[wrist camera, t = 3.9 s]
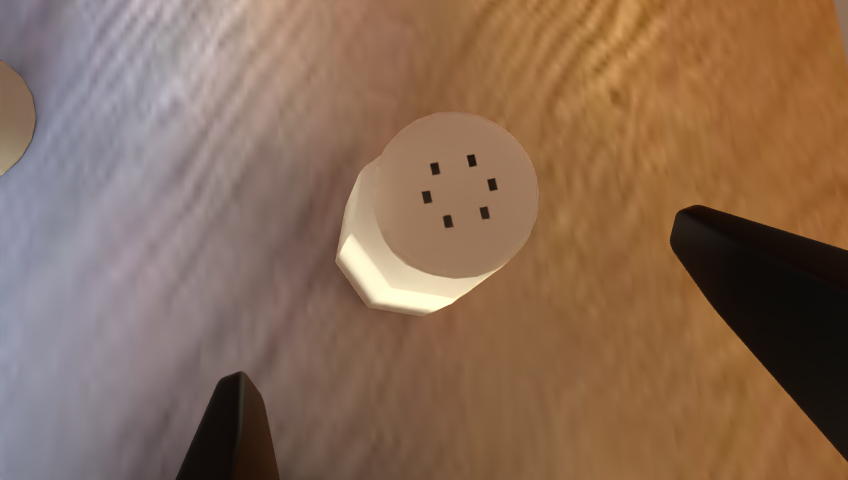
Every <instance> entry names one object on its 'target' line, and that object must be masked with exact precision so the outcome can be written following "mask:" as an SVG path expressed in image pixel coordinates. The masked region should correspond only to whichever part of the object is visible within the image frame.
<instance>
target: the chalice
mask: <svg viewBox="0 0 848 480" xmlns="http://www.w3.org/2000/svg"><path fill="white" fill-rule="evenodd" d="M35 120H36V115H35V109H34V102H33V96H32V95H31V93H30V91H29V89H28V87H27V86H26V84H25V82H24V80H23V78H22V77H21V76H20V75H19V74H18V73H17V72H16V71H14V70H13V69H12V68H11V67H10V66H9V65H8V64H7V63H6V62H4V61H2V60H0V176H1V175H3V174H4V173H5V172H6V171H7V170H8V169H9V168H10V167H12V166H13V165H14V164H15V163H16V162H17V161H18V160H19V159H20V158H21V157H22V155H23V153H24V151H25V150H26V148H27V146H28V145H29V143H30V141H31V140H32V135H33V130H34V125H35Z"/></svg>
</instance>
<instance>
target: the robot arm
mask: <svg viewBox="0 0 848 480" xmlns="http://www.w3.org/2000/svg"><path fill="white" fill-rule="evenodd" d="M670 245H671V248H672V250H673V252H674V253H675V254H676V256H677V257H678V259H679V260H680V262H681V263H682V264H683V266H684V267H685V269H686V270H687V271H688V273H689V274H690V276H691V277H692V279H693V280H694V281H695V283H696V284H697V286H698V287H699V289H700V290H701V291H702V293H703V294H704V296H705V297H706V298H707V300H708V301H709V302H710V304H711V305H712V306H713V308H714V309H715V310H716V311H717V313H718V314H719V315H720V316H721V317H722V319H723V320H724V321H725V322H726V323H727V324H728V325H729V327H730V328H731V329H732V330H733V331H734V332H735V333H736V335H737V336H738V337H739V338H740V339H741V340H742V342H743V343H744V344H745V345H746V346H747V347H748V348H749V350H750V351H751V352H752V353H753V354H754V355H755V356H756V358H757V359H758V360H759V361H760V362H761V363H762V364H763V366H764V367H765V368H766V369H767V370H768V371H769V372H770V374H771V375H772V376H773V377H774V378H775V379H776V380H777V382H778V383H779V384H780V385H781V386H782V387H783V388H784V390H785V391H786V392H787V393H788V394H789V395H790V397H791V398H792V399H793V400H794V401H795V402H796V403H797V405H798V406H799V407H800V408H801V409H802V410H803V411H804V413H805V414H806V415H807V416H808V417H809V418H810V419H811V421H812V422H813V423H814V424H815V425H816V426H817V427H818V429H819V430H820V431H821V432H822V433H823V434H824V435H825V437H826V438H827V439H828V440H829V441H830V442H831V443H832V445H833V446H834V447H835V448H836V449H837V450H838V451H839V453H840V454H841V455H842V456H843V457H844V458H845V460H846V461H847V462H848V250H844V249H841V248H838V247H835V246H832V245H828V244H825V243H822V242H819V241H815V240H812V239H809V238H806V237H802V236H799V235H796V234H793V233H789V232H786V231H783V230H780V229H777V228H773V227H770V226H767V225H764V224H760V223H757V222H754V221H751V220H747V219H744V218H741V217H738V216H734V215H731V214H728V213H725V212H721V211H718V210H715V209H712V208H709V207H705V206H702V205H693V206H690V207H687V208H685V209H682V210H680V211H678V213H677V214H676V216H675V220H674V224H673V228H672V232H671V237H670ZM175 480H280V478H279V472H278V467H277V462H276V457H275V453H274V448H273V443H272V438H271V433H270V429H269V424H268V419H267V414H266V409H265V405H264V401H263V398H262V396H261V394H260V392H259V391H258V390H257V388H256V387H255V385H254V384H253V383H252V381H251V380H250V379H249V377H248V376H247V374H246V373H244V372H242V371H240V372H236V373H233V374H231V375H228V376H225V377H223V378H221V379H220V380H219V382H218V383H217V386H216V388H215V390H214V392H213V395H212V397H211V399H210V402H209V404H208V406H207V408H206V411H205V413H204V415H203V418H202V420H201V422H200V424H199V427H198V429H197V431H196V434H195V436H194V438H193V440H192V443H191V445H190V447H189V449H188V452H187V454H186V456H185V459H184V461H183V463H182V465H181V468H180V470H179V472H178V475H177V477H176V479H175Z"/></svg>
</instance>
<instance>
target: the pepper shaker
mask: <svg viewBox="0 0 848 480" xmlns="http://www.w3.org/2000/svg"><path fill="white" fill-rule="evenodd" d="M538 205H539V190H538V181H537V176H536V173H535V170H534V168H533V165H532V163H531V160H530V158H529V156H528V154H527V153H526V152H525V150H524V149H523V147H522V146H521V145H520V143H519V142H518V140H517V139H516V138H515V137H514V136H512V135H511V134H510V133H509V132H508V131H507V130H505V129H504V128H503V127H502V126H501V125H499V124H497V123H495V122H493V121H491V120H489V119H487V118H485V117H483V116H480V115H476V114H471V113H466V112H461V111H454V112H438V113H435V114H431V115H428V116H425V117H422V118H419V119H417V120H415V121H414V122H412V123H411V124H409V125H408V126H406V127H405V128H403V129H402V130H400V131H399V132H398V133H397V134H396V135H395V137H394V138H393V139H392V140H391V141H390V142H389V143H388V145H387V146H386V147H385V149H384V151H383V153H382V155H381V156H380V157H378V158H376V159H375V160H373V161H372V162H371V163H369V164H368V165H367V166H365V167H364V168H363V169H362V171H361V172H360V173H359V176H358V178H357V180H356V183H355V185H354V187H353V190H352V192H351V195H350V197H349V199H348V202H347V204H346V207H345V211H344V217H343V222H342V227H341V233H340V238H339V244H338V249H337V254H336V260H335V262H336V264H337V265H338V267H339V268H340V270H341V271H342V272H343V274H344V275H345V277H346V278H347V279H348V281H349V282H350V284H351V285H352V287H353V288H354V289H355V291H356V292H357V294H358V295H359V296H360V298H361V299H362V301H363V302H364V304H365V305H366V306H367V308H372V309H378V310H384V311H391V312H397V313H403V314H409V315H415V316H421V317H423V316H425V315H427V314H430V313H432V312H434V311H436V310H438V309H440V308H443V307H445V306H447V305H449V304H451V303H453V302H454V301H455V300H456V299H458V298H459V297H461V296H463V295H464V294H466V293H467V292H469V291H470V290H471V289H473V288H474V287H475V286H477V285H478V284H479V283H481V282H482V281H484V280H485V279H486V278H488V277H489V276H490V275H492V274H493V273H494V272H496V271H497V270H498V269H500V268H501V267H502V266H503V265H504V264H506V263H507V262H508V261H509V260H510V259H512V258H513V257H514V256H515V255H516V254H517V253H518V251H519V250H520V249H521V248H522V246H523V245H524V244H525V243H526V241H527V240H528V238H529V236H530V234H531V231H532V229H533V227H534V224H535V222H536V220H537V212H538Z"/></svg>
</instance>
